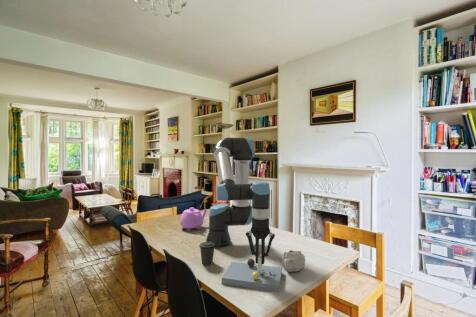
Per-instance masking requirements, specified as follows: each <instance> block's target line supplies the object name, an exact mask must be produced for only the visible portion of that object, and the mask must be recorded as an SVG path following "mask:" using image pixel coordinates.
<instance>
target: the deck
mask: <svg viewBox="0 0 476 317" xmlns="http://www.w3.org/2000/svg"><path fill="white" fill-rule="evenodd" d="M253 272H258V264H256V263H255V264H254V266H252V267H250V266H248V264H247V262H245V263H244V262H240V261H239V262H238V261H231V262H230V264H229V266H228V267H227V268H226V271H225V272H224V273H223V275H222V277H221V285H229V286H236V287H241V288H248V289H257V290H263V291H269V292H270V291H271V292H278V293H279V292H280V289H281V281H282V274H283V268H282V267H281V266H280V267H279V266H271V265H264V264H262V271H261V272H258V274H259V278H258V279H257V280H254V279H253V278H252V274H253ZM264 272H269V273H270V274H271V276H270V277H265V276H263V273H264Z"/></svg>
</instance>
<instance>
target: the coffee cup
mask: <svg viewBox="0 0 476 317" xmlns="http://www.w3.org/2000/svg"><path fill="white" fill-rule="evenodd" d="M198 246H199V249H200V256H201V257H200V258H201V264H202V265H204V266H210V265H213V262H214V253H215V248H216V247H215V243H213V242H206V241H204V242H203V241H202V242H200V243H199V245H198Z"/></svg>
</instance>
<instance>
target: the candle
mask: <svg viewBox="0 0 476 317" xmlns="http://www.w3.org/2000/svg"><path fill="white" fill-rule="evenodd" d="M281 263H282V265H283V267H284V269H285V271H286V272H287V273H293V272H298V271H301V270H302V269H303V268H304V267H305V266H306V257H305V255H304V254H303V253H302V251H297V250H289V251H284V252H283V255H282V257H281Z"/></svg>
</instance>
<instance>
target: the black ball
mask: <svg viewBox="0 0 476 317" xmlns="http://www.w3.org/2000/svg"><path fill="white" fill-rule="evenodd" d="M255 261H256V260H255V259H253V258H249V259H247V262H246V263H247V264H248V266H250V267H252V266H254V264H256V262H255Z"/></svg>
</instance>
